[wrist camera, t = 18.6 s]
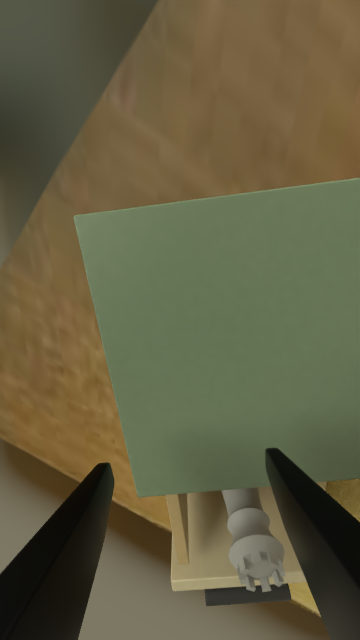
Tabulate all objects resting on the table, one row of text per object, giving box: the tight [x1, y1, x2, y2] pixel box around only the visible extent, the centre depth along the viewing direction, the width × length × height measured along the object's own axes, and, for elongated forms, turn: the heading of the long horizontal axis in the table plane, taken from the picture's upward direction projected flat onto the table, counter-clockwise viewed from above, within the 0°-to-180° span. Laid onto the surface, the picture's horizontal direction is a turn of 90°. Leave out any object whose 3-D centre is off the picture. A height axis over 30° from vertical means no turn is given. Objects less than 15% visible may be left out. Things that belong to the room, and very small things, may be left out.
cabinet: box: [74, 178, 360, 497], centre depth 14 cm, size 15×13×9 cm
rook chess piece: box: [221, 487, 286, 592], centre depth 15 cm, size 4×4×8 cm
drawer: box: [166, 481, 327, 606], centre depth 17 cm, size 19×11×7 cm, turn 7°
